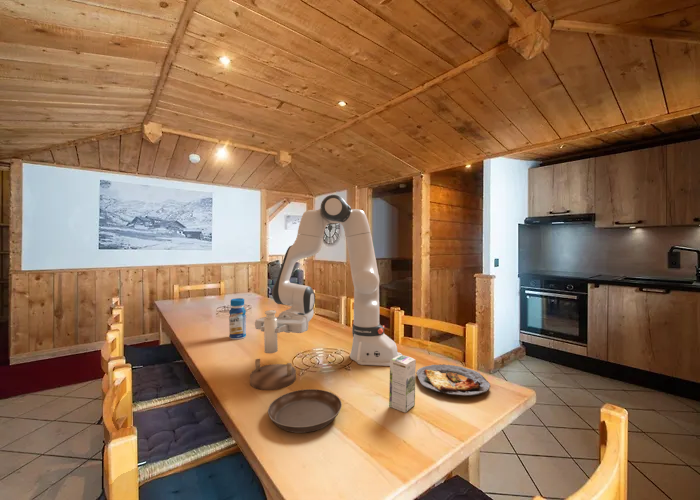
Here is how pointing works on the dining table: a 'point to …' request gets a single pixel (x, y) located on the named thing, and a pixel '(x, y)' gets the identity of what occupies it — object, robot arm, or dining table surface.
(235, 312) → the beverage bottle
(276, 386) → the pedestal
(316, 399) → the plant saucer
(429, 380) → the food plate
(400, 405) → the syrup box
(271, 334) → the bud vase
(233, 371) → the dining table surface
